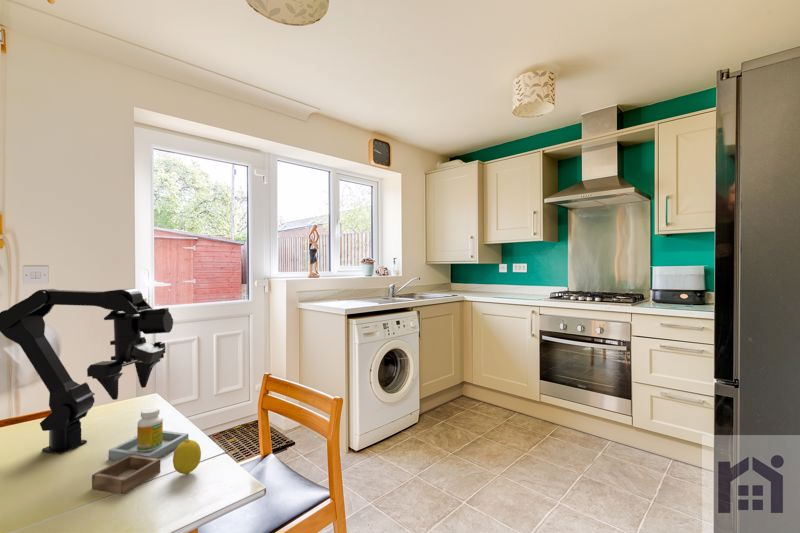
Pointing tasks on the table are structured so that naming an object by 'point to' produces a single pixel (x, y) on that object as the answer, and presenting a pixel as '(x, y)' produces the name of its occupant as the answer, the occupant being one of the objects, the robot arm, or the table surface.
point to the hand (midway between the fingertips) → (130, 393)
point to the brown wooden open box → (119, 485)
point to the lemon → (186, 456)
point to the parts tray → (130, 448)
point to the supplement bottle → (149, 430)
